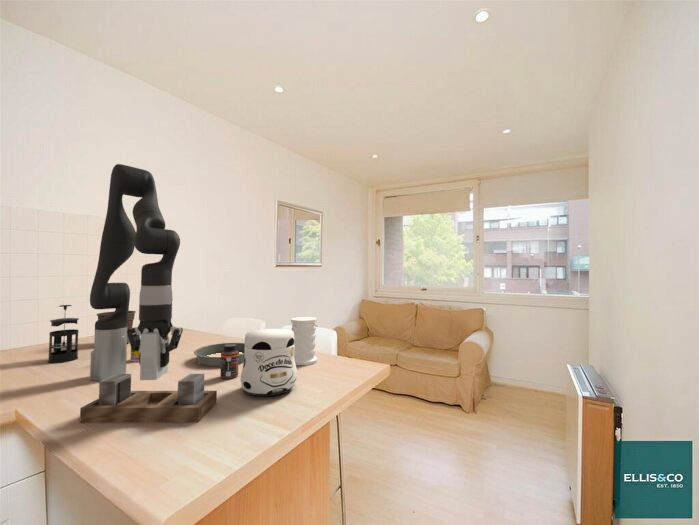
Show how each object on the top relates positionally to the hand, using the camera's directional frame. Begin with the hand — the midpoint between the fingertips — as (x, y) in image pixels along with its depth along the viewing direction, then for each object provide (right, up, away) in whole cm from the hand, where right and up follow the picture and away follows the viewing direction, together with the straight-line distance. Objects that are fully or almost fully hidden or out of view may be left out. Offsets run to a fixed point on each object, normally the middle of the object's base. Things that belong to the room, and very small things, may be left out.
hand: (154, 366), depth 82 cm
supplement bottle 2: (+9, -13, +28) cm, 32 cm away
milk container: (+27, -13, +16) cm, 34 cm away
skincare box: (0, -3, 0) cm, 3 cm away
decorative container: (+33, -14, +47) cm, 59 cm away
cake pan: (-1, -14, +50) cm, 53 cm away
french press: (-68, -13, +47) cm, 84 cm away
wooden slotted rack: (0, -12, 0) cm, 12 cm away
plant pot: (-68, -14, +76) cm, 103 cm away
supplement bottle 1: (-36, -14, +48) cm, 61 cm away
